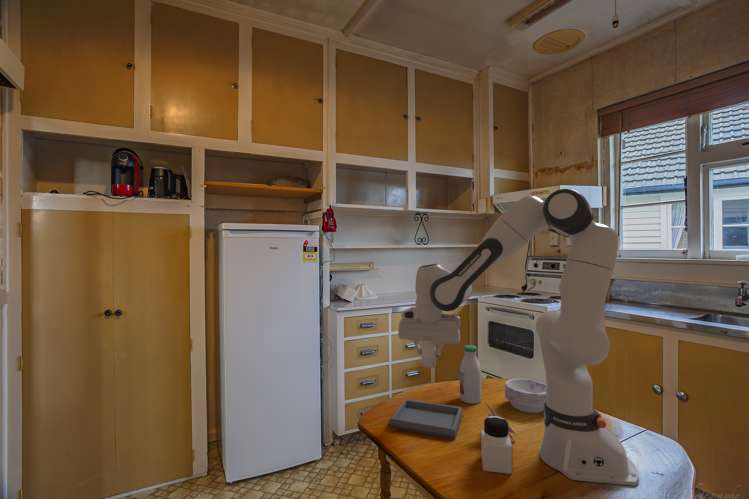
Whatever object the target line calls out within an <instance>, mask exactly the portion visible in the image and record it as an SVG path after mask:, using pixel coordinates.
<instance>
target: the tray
mask: <svg viewBox="0 0 749 499" xmlns="http://www.w3.org/2000/svg"><path fill="white" fill-rule="evenodd" d="M462 419H463V407H461V406H455V405H449V404H441V403H436V402H435V403H434V402H429V401H427V402H426V401H420V400H414V399H407V398H404V400H403V401H402V402H401V403H400V405H399V407H398V408H397V409H396V411H395V412H394V414H393V415H392V416H391V418H390V429H391V430H393V429H394V430H397V431H398V430H399V431H404V432H410V433H416V434H421V435H427V436H433V437H438V438H444V439H450V440H454V441H456V439H457V435H458V432H459V429H460V424H461V422H462Z"/></svg>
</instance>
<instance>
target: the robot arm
mask: <svg viewBox="0 0 749 499" xmlns="http://www.w3.org/2000/svg"><path fill="white" fill-rule="evenodd" d="M546 229H547V230H548V231H551V232H552V233H555V234H557V235H560V236H561V237H565V238H569V240H570V246H569V251H568V254H567V258H566V260H565V264H564V268H563V272H562V275H561V279H560V281H559V285H558V289H559V290H558V291H559V294H560V309H553V310H547V311H544V312H542V313H541V314H540V315H539V316H538V318H537V319H536V323H535V328H536V329H535V330H536V333H537V335H538V339H539V343H540V348H541V355H542V360H543V366H544V371H545V384H546V402H545V403H544V409H543V422H544V423H543V424H544V430H543V431H544V432H543V438H542V442H541V446H540V449H539V451H538V452H539V457H540V458H541V460H542V461H543V462H544V463H545V464H546V465H548V466H550V467H551V468H553V469H554V470H556V471H557V472H558V471H559V472H560V473H562V474H563V475H564V476H565V477H567V478H568V479H570V480H572V481H578V482H579V481H580V482H590V483H600V484H614V485H621V486H622V485H624V486H635V487H636V486H637V485H639V482H640V476H639V472H638V469H637V467H636V465H635V463H634V462H633V461H632V460H631V459H630V458H629V456H627V452H626V449H625V447H624V445H623V444H622V442H621V440H619V438H618V437H616V436H615V435H614V434H613V433H612V432H610V431H609V430H607V429H606V427H607V422H606V419H604V418H603V417H602V414H600V413H599V411H598V410H597V409H596V408H593V395H594V394H593V392H594V390H593V379H592V376H591V375H590V372H589V370H588V368H587V366H594V365H598V364H601V363H602V362H603V361H604V360H605V359H607V356H608V355H609V353H610V350H611V342H610V341H611V340H610V338H609V336H608V334H607V330H606V319H605V317H606V316H605V314H606V313H605V310H606V309H605V307H606V300H607V294H608V291H609V287H610V283H611V280H612V276H613V273H614V268H615V265H616V260H617V255H618V249H619V248H618V247H619V235H618V232H617V231H616V230H615V229H614V228H612V227H611V226H609V225H606V224H603V223H599V222H596V221H595V220H594V215H593V211H592V207H591V205H590V203H589V202H588V200H587V199H586V197H585V196H584V195H583V194H582V193H581V192H580V191H577V190H576V189H572V188H561V189H557V190H555V191H554V192H552V193H550V194H549V195H548V196H547V197H546V199H545V201H544V200H542V199H541V198H540V197H537V196H535V195H524V196H522V197H521V198H520V199H518V200H517V201H516V202H515V203H513V204H512V205H511V206H510V207H509V208H508V209H506V210H505V211H504V212H503V213H502V214H501V215H500V216H499V217H498V218H497V219H496V221H495V222H494V223H493V224H492V225H491V227H490V228H489V230H488V231H487V232H486V234H485V235H484V237H483V238H482V239H481V241H480V242H479V244H478V245H477V246H476V247H475V249H474V250H473V251H471V253H470V254H469V255H468V256H467V257H466V258H465V259H464V260H463V261H462V262H461V263H460V264H459V265H458V266H457V267H456V268H455V269H454V270H453V271H451V270H448V269H447V268H444V267H443V266H442V265H441V264H439V263H430V264H424V265H421V266H420V267H418V268H417V271H416V275H415V286H414V287H415V289H414V290H415V294H416V300H415V306H414V307H413V306H412V307H410V308H407V309H404V310H403V311H402V312H401V314H400V316H401V319H400V321H399V324H398V331H397V332H398V334H397V335H398V338H399V339H400V340H407V341H413V345H414V346H415V348H416V353H417V355H422V347H420V345H419V343H420V342H422V341H423V336H426V337H432V341H433V342H436V343H437V344H438V348H436V350H435V356H436V357H441V350H442V349H443V347H444V345H445V344H448V345H449V344H450V345H451V344H452V345H458V344H459V342H460V341H461V331H460V328H461V325H462V320H461V318H460V316H458V315H457V314H449V313H443V312H453V311H455V310H457V309H458V308H459V307H460V306H461V305H463V304H464V303H466V302H467V301H468V300H470V298H471V296H472V294H473V285H472V284H474V283H475V282H476V281H477V280H478V278H480V277H481V275H483V274H484V273H485V272H486V271H487V270H488V269H490V268H491V267H492V266H494V265H495V264H496V263H499V262H500V261H503V260H505V259H506V260H507V258H510V257H511V256H513V255H515V254H516V253H517V252H519V251H520V250H521V249H523V248H524V247H525V246H526V245H527V244H528V243H529V242H530V241H531V240H532V239H533V238H534V237H535V236H536V235H537V234H538V233H539V232H541V231H543V230H546Z"/></svg>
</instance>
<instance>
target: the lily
mask: <svg viewBox="0 0 749 499" xmlns="http://www.w3.org/2000/svg"><path fill="white" fill-rule="evenodd" d="M484 404H485V405H486V407H487V408H488V409H489V411H490V413H491V414H490V413H487V416H488V417H490V416H497V417H499V415H498V414H497V413H495V411H494V410H493V409H492V408H491V407H490V405H489V404H487V403H486V402H484ZM508 434H509V437H510V440H512V441H513V442H514V443H516V441H515V440H514V438H513V437H512V435H511V434H513V435H517V433H516V432H515V430H513V429H512V428H511V427H510V425H508Z"/></svg>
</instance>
